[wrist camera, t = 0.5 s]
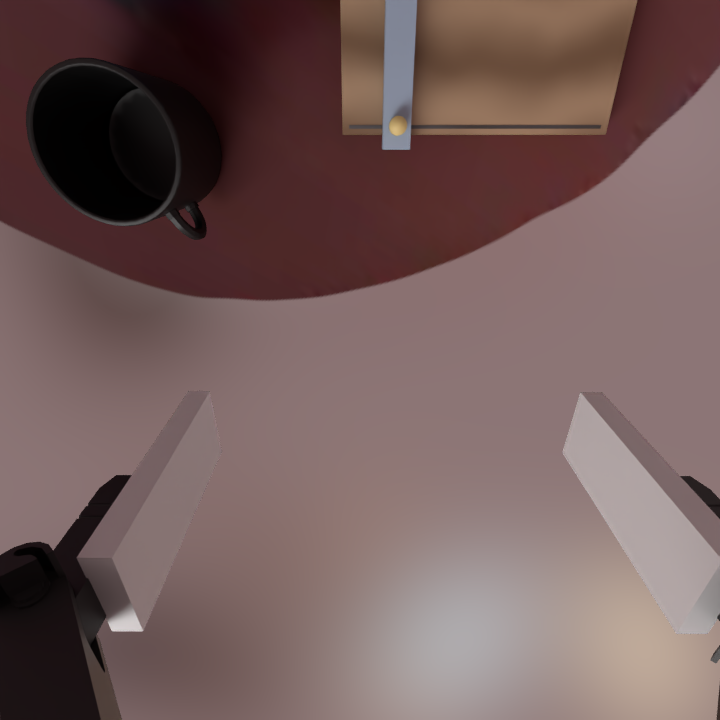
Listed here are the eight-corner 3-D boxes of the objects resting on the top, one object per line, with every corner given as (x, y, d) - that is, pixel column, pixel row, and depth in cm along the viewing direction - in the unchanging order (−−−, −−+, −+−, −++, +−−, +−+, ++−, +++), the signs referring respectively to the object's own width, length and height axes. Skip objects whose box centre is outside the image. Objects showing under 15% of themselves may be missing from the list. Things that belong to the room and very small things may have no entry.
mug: (178, 253, 38) (130, 283, 30) (79, 121, 33) (-10, 115, 25) (263, 200, 36) (235, 216, 28) (170, 50, 31) (104, 19, 23)
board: (341, -29, 29) (339, -40, 27) (629, -29, 29) (647, -41, 27) (343, 134, 34) (342, 134, 32) (592, 134, 34) (605, 134, 32)
